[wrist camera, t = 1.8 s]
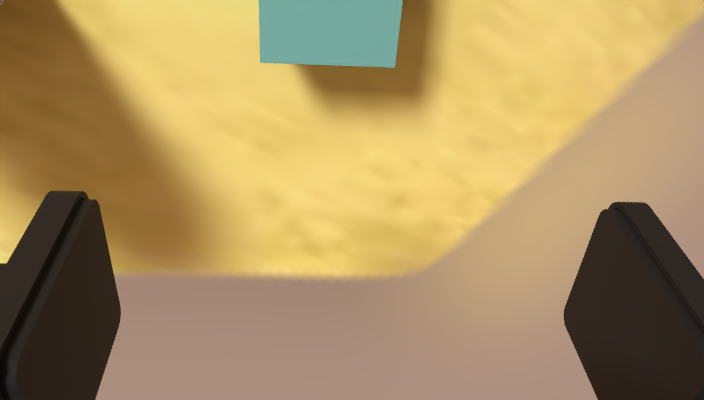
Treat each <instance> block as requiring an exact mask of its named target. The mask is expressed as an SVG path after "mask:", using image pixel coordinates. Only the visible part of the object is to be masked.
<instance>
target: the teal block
mask: <svg viewBox="0 0 704 400" xmlns="http://www.w3.org/2000/svg"><path fill="white" fill-rule="evenodd" d="M402 4H403V0H259V26H260V63H284V64H311V65H338V66H365V67H391V68H395V64H396V55H397V47H398V38H399V29H400V21H401V12H402Z"/></svg>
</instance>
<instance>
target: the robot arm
mask: <svg viewBox="0 0 704 400" xmlns="http://www.w3.org/2000/svg"><path fill="white" fill-rule="evenodd" d="M120 309H121V308H120V302H119V298H118V293H117V288H116V283H115V279H114V274H113V269H112V264H111V260H110V255H109V250H108V245H107V241H106V236H105V231H104V226H103V222H102V217H101V212H100V207H99V204H98V202H97V200H89V199H88V196H87V194H86V193H85V192H83V191H50V192H48V194H47V195H46V196H45V198H44V200H43V202H42V203H41V205H40V207H39V209H38V210H37V212H36V214H35V216H34V217H33V219H32V221H31V222H30V224H29V226H28V228H27V229H26V231H25V233H24V235H23V236H22V238H21V240H20V242H19V243H18V245H17V247H16V248H15V250H14V252H13V254H12V255H11V257H10V259H9V261H8V262H7V264H0V400H95V398H96V395H97V392H98V389H99V386H100V383H101V380H102V376H103V374H104V371H105V367H106V364H107V361H108V358H109V355H110V352H111V349H112V346H113V343H114V340H115V337H116V333H117V330H118V327H119V323H120V315H121V310H120ZM564 321H565V326H566V328H567V331H568V333H569V335H570V338H571V340H572V342H573V344H574V347H575V349H576V351H577V353H578V356H579V358H580V360H581V362H582V365H583V367H584V369H585V371H586V373H587V376H588V378H589V380H590V382H591V385H592V387H593V389H594V392H595V394H596V396H597V398H598V400H704V279H703V278H702V276H701V275H700V274H699V272H698V271H697V270H696V268H695V267H694V266H693V264H692V263H691V262H690V260H689V259H688V257H687V256H686V255H685V253H684V252H683V251H682V249H681V248H680V247H679V245H678V244H677V243H676V241H675V240H674V239H673V237H672V236H671V235H670V233H669V232H668V230H667V229H666V228H665V226H664V225H663V224H662V222H661V221H660V220H659V218H658V217H657V216H656V215H655V213H654V212H653V210H652V209H651V208H650V206H648V204H646V203H641V202H639V203H638V202H615V203H612V204H611V205H610V207H609V208H608V209H605V210H603V211H602V212H601V213H600V215H599V217H598V220H597V223H596V225H595V228H594V231H593V233H592V236H591V239H590V241H589V244H588V247H587V249H586V252H585V255H584V258H583V260H582V263H581V266H580V268H579V271H578V274H577V276H576V279H575V282H574V284H573V287H572V290H571V292H570V295H569V298H568V300H567V303H566V306H565V309H564Z"/></svg>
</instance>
